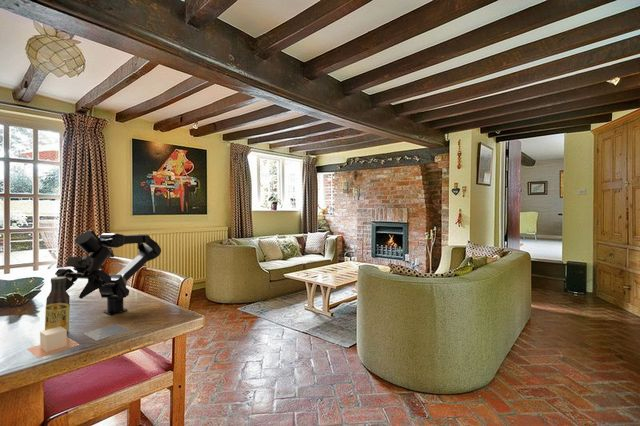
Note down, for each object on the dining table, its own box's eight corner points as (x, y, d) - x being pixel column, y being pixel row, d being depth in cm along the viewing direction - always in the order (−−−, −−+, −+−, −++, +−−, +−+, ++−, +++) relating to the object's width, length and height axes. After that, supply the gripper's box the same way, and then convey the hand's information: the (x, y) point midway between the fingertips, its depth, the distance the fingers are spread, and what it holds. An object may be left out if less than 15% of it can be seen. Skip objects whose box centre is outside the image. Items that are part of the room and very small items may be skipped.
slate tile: (83, 335, 105) (83, 333, 105) (115, 325, 113) (115, 323, 113) (96, 342, 99) (96, 340, 99) (129, 331, 108) (129, 330, 108)
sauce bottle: (42, 341, 100) (40, 280, 99) (48, 334, 105) (47, 276, 104) (67, 337, 103) (66, 278, 102) (72, 331, 108) (71, 274, 108)
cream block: (40, 347, 94) (40, 331, 94) (60, 341, 98) (60, 326, 98) (46, 352, 92) (45, 335, 91) (67, 345, 96) (66, 329, 96)
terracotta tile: (26, 350, 94) (26, 348, 94) (67, 338, 102) (67, 336, 102) (38, 360, 88) (38, 357, 88) (80, 346, 97) (80, 344, 97)
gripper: (59, 246, 114) (27, 283, 103) (104, 248, 111) (76, 286, 100) (79, 263, 122) (51, 300, 111) (121, 265, 119) (97, 303, 108)
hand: (68, 297), depth 107 cm, fingers open, 9 cm apart
